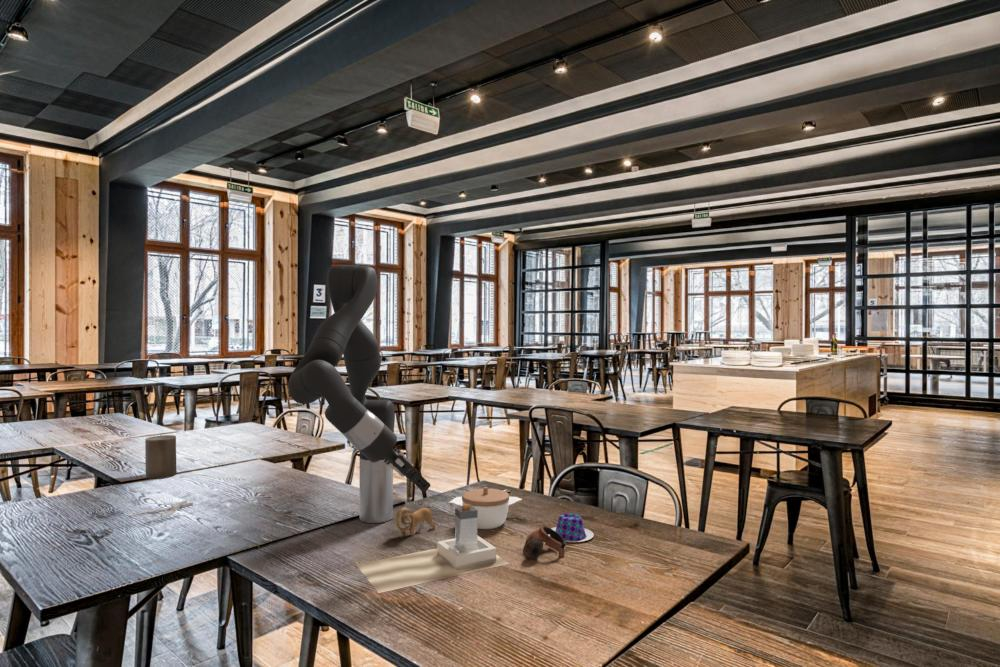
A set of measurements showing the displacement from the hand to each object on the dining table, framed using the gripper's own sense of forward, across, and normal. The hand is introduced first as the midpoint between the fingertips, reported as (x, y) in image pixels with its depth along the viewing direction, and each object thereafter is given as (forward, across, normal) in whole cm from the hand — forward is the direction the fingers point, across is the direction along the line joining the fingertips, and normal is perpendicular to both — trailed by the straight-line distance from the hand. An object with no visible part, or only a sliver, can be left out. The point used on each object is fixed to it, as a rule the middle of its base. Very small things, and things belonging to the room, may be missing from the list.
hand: (421, 483), depth 130 cm
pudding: (+44, +6, -16) cm, 47 cm away
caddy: (+20, 0, +5) cm, 21 cm away
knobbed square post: (+20, 0, +5) cm, 20 cm away
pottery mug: (+33, -5, -6) cm, 34 cm away
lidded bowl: (+31, +20, -3) cm, 37 cm away
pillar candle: (-28, +117, +57) cm, 133 cm away
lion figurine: (+18, +21, +10) cm, 29 cm away
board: (+16, 0, +12) cm, 20 cm away
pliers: (-24, +70, +54) cm, 91 cm away
